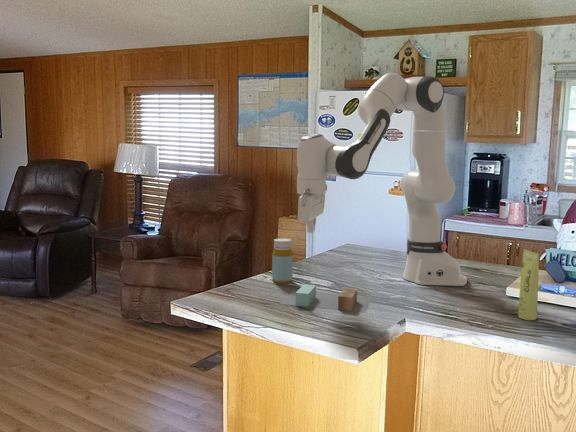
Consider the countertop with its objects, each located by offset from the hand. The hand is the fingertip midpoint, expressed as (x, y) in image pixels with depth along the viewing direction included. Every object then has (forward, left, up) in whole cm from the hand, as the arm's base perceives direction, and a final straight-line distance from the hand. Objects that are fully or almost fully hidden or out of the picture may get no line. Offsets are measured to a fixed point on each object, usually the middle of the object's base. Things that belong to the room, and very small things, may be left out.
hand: (311, 232), depth 180 cm
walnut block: (-13, 0, -19) cm, 23 cm away
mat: (-6, +2, -21) cm, 22 cm away
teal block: (0, 0, -19) cm, 19 cm away
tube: (-64, 0, -22) cm, 67 cm away
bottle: (+14, -17, -22) cm, 31 cm away
